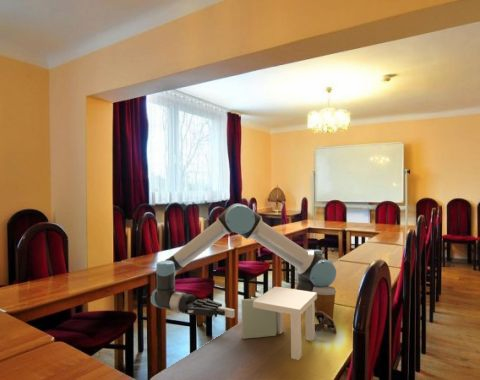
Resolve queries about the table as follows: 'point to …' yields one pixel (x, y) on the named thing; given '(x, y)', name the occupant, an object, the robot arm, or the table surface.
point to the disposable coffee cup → (325, 299)
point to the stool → (291, 312)
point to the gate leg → (258, 321)
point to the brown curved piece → (324, 321)
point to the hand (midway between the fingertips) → (233, 313)
